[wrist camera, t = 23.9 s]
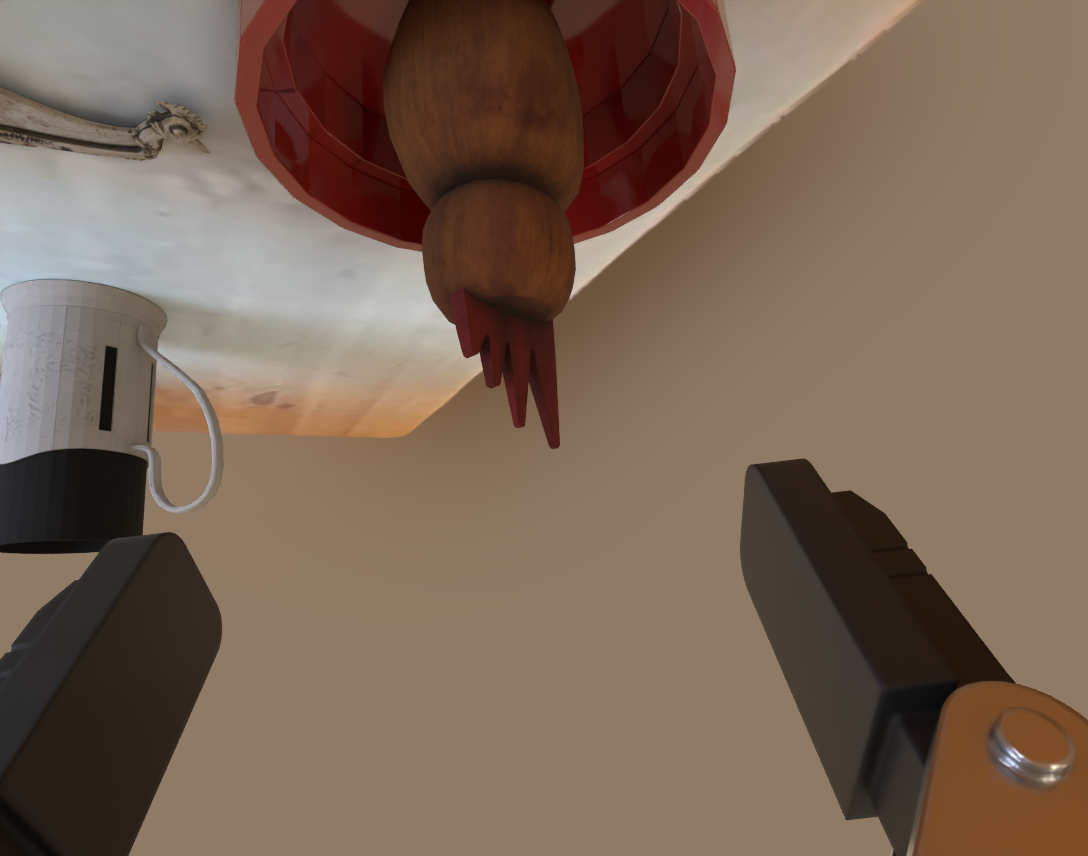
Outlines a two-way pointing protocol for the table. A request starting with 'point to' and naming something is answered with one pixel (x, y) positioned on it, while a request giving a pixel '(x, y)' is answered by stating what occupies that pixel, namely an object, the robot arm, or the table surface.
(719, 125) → the bowl
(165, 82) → the table surface
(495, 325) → the wooden figurine
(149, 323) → the glass holder
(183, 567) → the robot arm
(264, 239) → the table surface
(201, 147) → the nutcracker
